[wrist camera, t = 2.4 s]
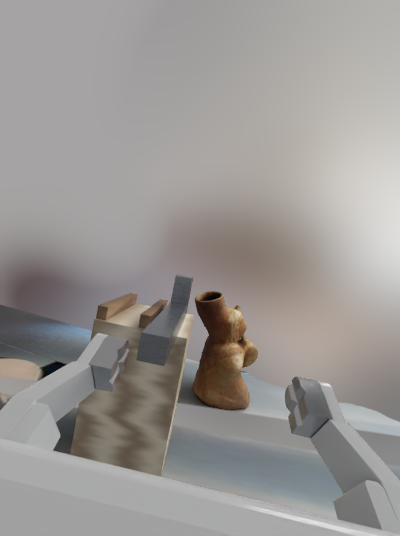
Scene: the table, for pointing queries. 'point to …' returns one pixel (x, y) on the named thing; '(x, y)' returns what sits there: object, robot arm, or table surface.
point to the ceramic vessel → (223, 354)
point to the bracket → (165, 325)
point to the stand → (132, 395)
